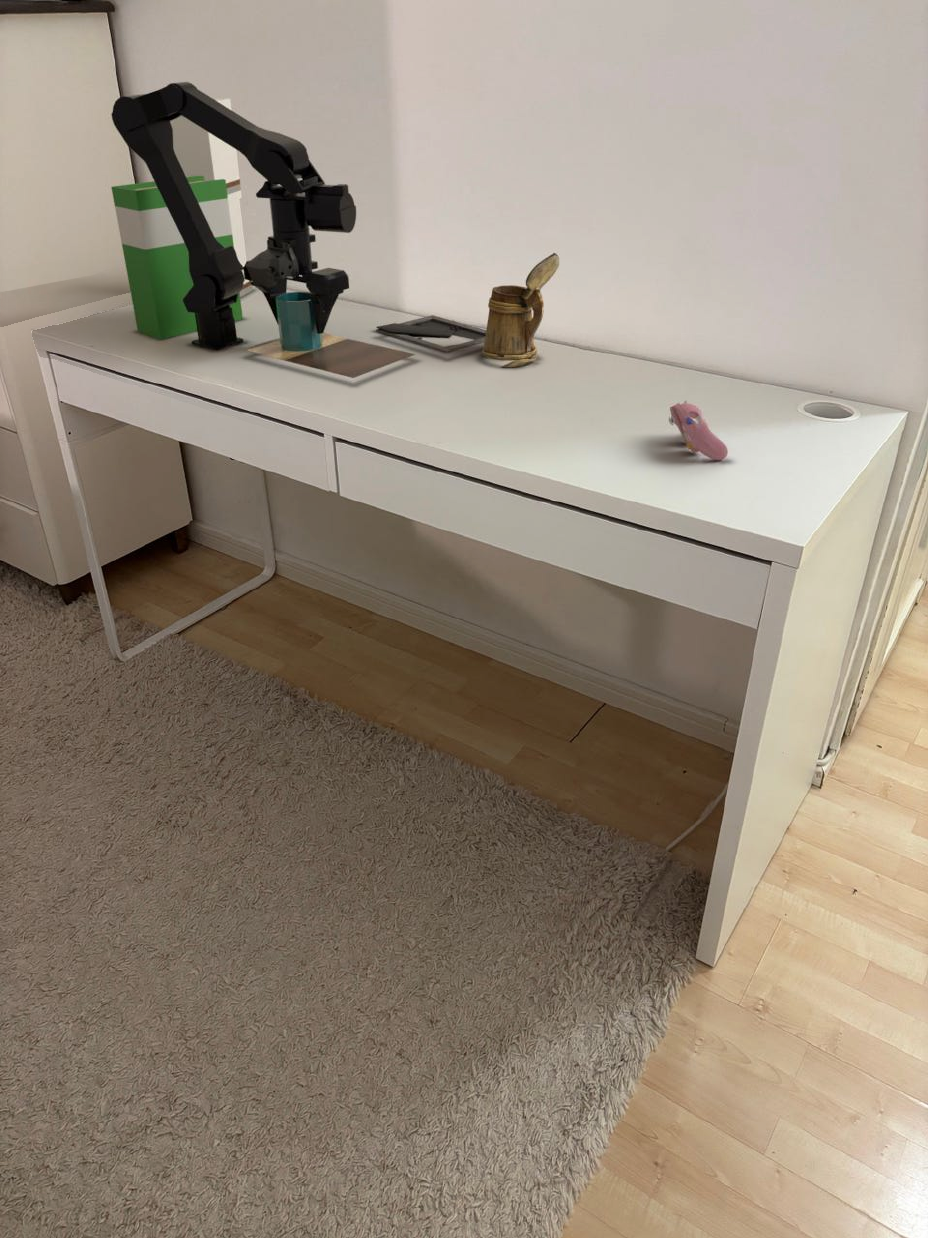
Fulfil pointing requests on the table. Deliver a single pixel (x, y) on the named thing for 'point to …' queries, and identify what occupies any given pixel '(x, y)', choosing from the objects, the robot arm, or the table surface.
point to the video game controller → (696, 431)
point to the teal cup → (297, 322)
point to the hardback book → (165, 253)
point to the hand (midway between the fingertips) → (300, 328)
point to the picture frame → (435, 332)
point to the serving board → (337, 355)
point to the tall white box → (213, 171)
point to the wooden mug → (517, 316)
